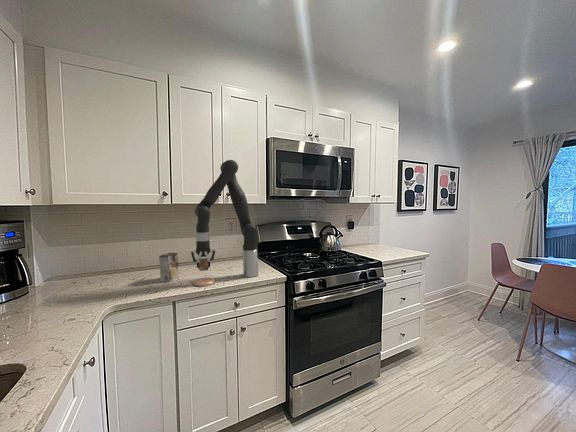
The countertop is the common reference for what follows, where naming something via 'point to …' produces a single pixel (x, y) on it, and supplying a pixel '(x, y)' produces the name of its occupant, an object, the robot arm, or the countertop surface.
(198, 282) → the dish
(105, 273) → the countertop surface
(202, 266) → the walnut block
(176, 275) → the coffee box
